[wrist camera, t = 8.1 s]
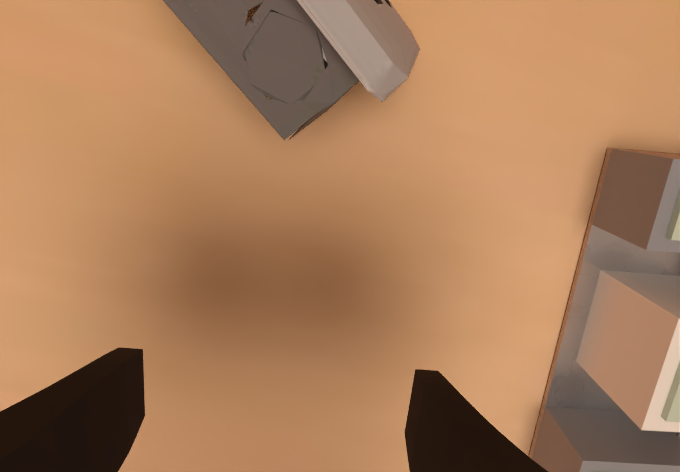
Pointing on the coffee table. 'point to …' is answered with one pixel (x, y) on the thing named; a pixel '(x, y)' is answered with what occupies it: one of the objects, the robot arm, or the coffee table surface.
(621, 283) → the block
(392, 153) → the coffee table surface
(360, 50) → the electrical switch
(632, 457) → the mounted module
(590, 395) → the rail
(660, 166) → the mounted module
